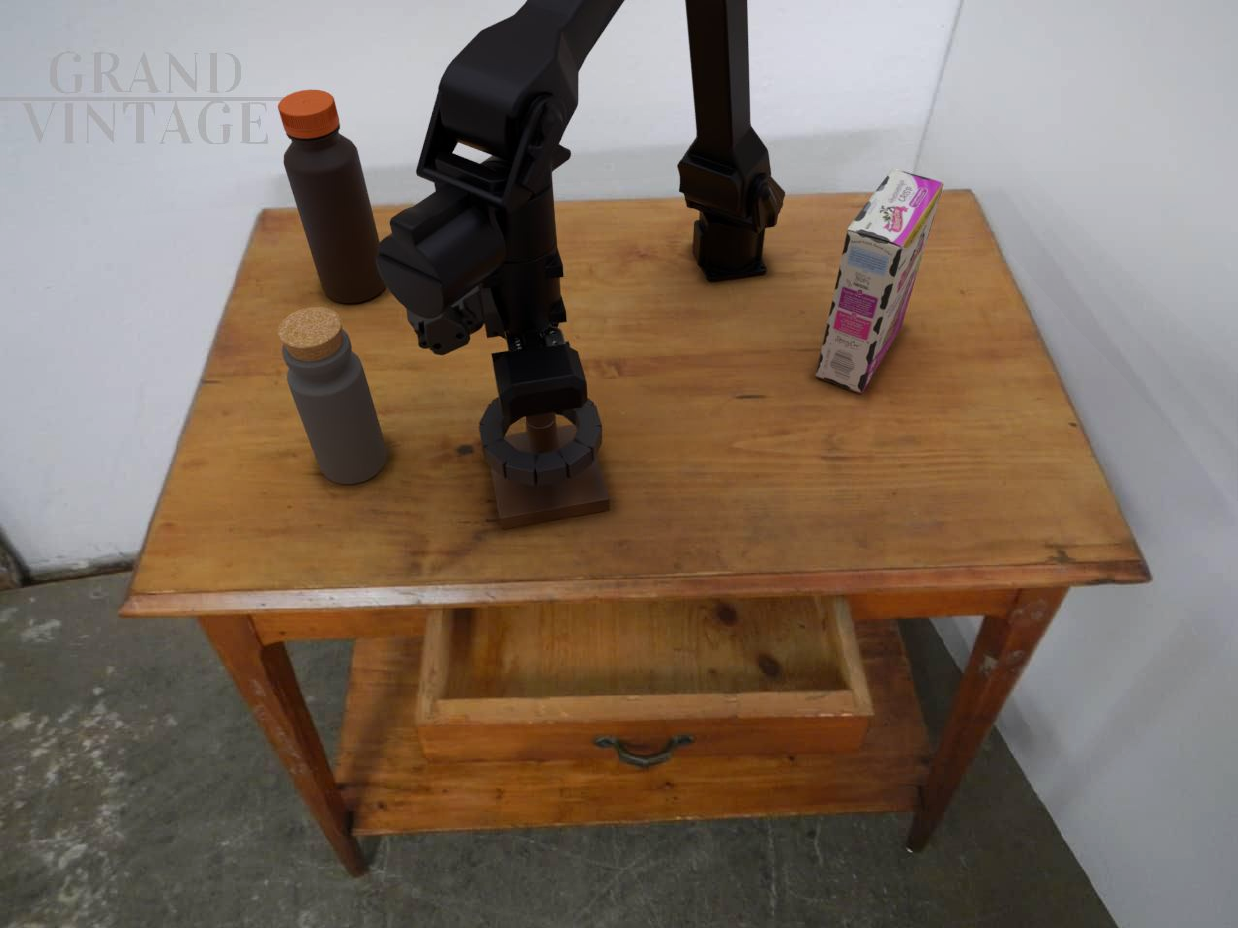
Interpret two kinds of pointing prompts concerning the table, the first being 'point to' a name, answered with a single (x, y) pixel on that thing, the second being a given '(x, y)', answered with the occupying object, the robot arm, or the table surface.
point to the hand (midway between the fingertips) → (533, 397)
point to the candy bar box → (877, 277)
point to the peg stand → (555, 499)
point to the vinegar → (331, 197)
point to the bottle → (332, 396)
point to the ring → (542, 465)
